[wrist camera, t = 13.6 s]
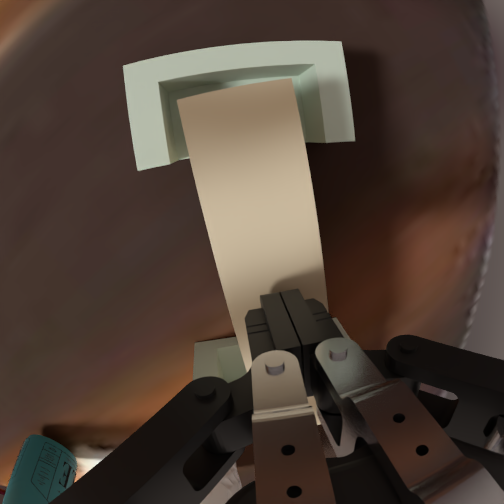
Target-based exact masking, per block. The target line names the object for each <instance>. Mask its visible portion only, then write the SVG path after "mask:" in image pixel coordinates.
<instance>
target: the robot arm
mask: <svg viewBox="0 0 504 504" xmlns="http://www.w3.org/2000/svg"><path fill="white" fill-rule="evenodd" d="M260 303H261V308H258V309H252V310H248V312H247V314H246V316H245V318H244V319H245V324H246V330H247V336H248V342H249V347H250V353H251V358H252V365H251V368H250V369H249V371H248V372H247V373H246V374H245V375H244V376H242V377H241V378H239V379H237V380H234V381H232V382H229V383H227V382H226V381H225V380H224V379H222V378H219V377H214V376H207V377H201V378H198V379H195V380H193V381H192V382H190V383H189V384H188V385H186V386H185V387H184V388H183V389H182V390H181V391H180V392H179V393H178V394H177V395H176V396H175V397H174V398H172V399H171V400H170V401H169V402H168V403H167V404H166V405H165V406H164V407H163V408H161V409H160V410H159V411H158V412H157V413H156V414H155V415H154V416H153V417H151V418H150V419H149V420H148V421H147V422H146V423H145V424H144V425H142V426H141V427H140V428H139V429H138V430H137V431H136V432H134V433H133V434H132V435H131V436H130V437H129V438H128V439H126V440H125V441H124V442H123V443H122V444H121V445H119V446H118V447H117V448H116V449H115V450H114V451H112V452H111V453H110V454H109V455H108V456H107V457H105V458H104V459H103V460H102V461H101V462H99V463H98V464H97V465H96V466H95V467H93V468H92V469H91V470H90V471H89V472H87V473H86V474H85V475H84V476H82V477H81V478H80V479H79V480H77V481H76V482H75V483H74V484H72V485H71V486H70V487H69V488H67V489H66V490H65V491H64V492H62V493H61V494H60V495H59V496H57V497H56V498H55V499H53V500H52V501H51V502H50V503H48V504H200V503H201V502H202V501H203V500H204V499H205V498H206V496H207V495H208V494H209V493H210V492H211V491H212V490H213V488H214V487H215V486H216V485H217V484H218V483H219V481H220V480H221V479H222V478H223V477H224V476H225V474H226V473H227V472H228V471H229V470H230V468H231V467H232V466H233V465H234V463H235V462H236V461H237V460H238V458H239V457H240V456H241V455H242V453H243V452H244V450H245V446H248V445H250V444H252V443H253V450H254V468H255V481H253V482H251V483H249V484H247V485H246V486H244V487H243V488H241V489H240V490H239V491H237V492H236V493H235V494H234V495H233V496H232V497H231V498H230V499H229V500H228V501H227V502H226V503H225V504H504V360H501V359H497V358H493V357H489V356H485V355H482V354H478V353H474V352H471V351H467V350H463V349H460V348H456V347H453V346H449V345H445V344H442V343H438V342H435V341H431V340H428V339H424V338H421V337H417V336H414V335H400V336H397V337H394V338H393V339H391V340H390V341H389V342H388V344H387V348H386V350H362V349H361V348H360V346H359V345H358V344H357V343H356V342H354V341H352V340H350V339H347V338H344V337H343V335H342V333H341V332H340V330H339V329H338V327H337V325H336V324H335V322H334V321H333V319H332V318H331V316H330V314H329V313H328V312H327V309H326V308H325V306H324V305H323V303H321V302H319V301H318V300H316V299H314V298H311V299H306V300H304V298H303V296H302V294H301V292H300V291H299V289H298V288H297V289H292V290H287V291H281V292H276V293H270V294H264V295H260ZM421 383H424V384H427V385H430V386H434V387H437V388H440V389H443V390H446V391H449V392H452V393H454V394H455V395H456V396H457V397H458V399H456V400H449V399H446V398H443V397H440V396H437V395H433V394H430V393H427V392H424V391H421V390H419V389H420V385H421ZM311 396H314V398H315V401H316V413H317V416H318V418H319V420H320V422H321V424H322V426H323V428H324V430H325V432H326V434H327V436H328V438H329V441H330V443H331V445H332V447H333V449H334V451H335V453H336V456H337V457H335V458H325V454H324V450H323V446H322V442H321V438H320V434H319V430H318V426H317V422H316V418H315V414H314V410H313V407H312V406H309V403H308V399H307V397H311Z"/></svg>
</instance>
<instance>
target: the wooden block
mask: <svg viewBox="0 0 504 504" xmlns="http://www.w3.org/2000/svg"><path fill="white" fill-rule="evenodd" d="M177 104H178V108H179V113H180V118H181V122H182V127H183V131H184V135H185V140H186V144H187V149H188V153H189V157H190V161H191V166H192V170H193V174H194V178H195V182H196V187H197V191H198V195H199V199H200V203H201V207H202V211H203V215H204V219H205V223H206V227H207V231H208V235H209V238H210V242H211V246H212V250H213V254H214V258H215V261H216V265H217V269H218V273H219V276H220V280H221V284H222V287H223V291H224V295H225V298H226V302H227V305H228V309H229V312H230V316H231V320H232V323H233V327H234V330H235V334H236V337H237V340H238V344H239V347H240V351H241V354H242V357H243V361H244V364H245V368H246V371H247V372H248V371H249V369H250V368H251V365H252V358H251V353H250V347H249V342H248V336H247V330H246V324H245V319H244V318H245V316H246V314H247V312H248V310H252V309H258V308H261V303H260V295H264V294H270V293H276V292H281V291H287V290H292V289H297V288H298V289H299V291H300V292H301V294H302V296H303V298H304V300H306V299H311V298H314V299H316V300H318V301H319V302H321V303H323V305H324V306H325V308H326V309H327V312H328V313H329V311H328V301H327V291H326V282H325V273H324V265H323V257H322V249H321V241H320V234H319V227H318V220H317V213H316V206H315V200H314V193H313V187H312V181H311V175H310V169H309V163H308V158H307V152H306V147H305V141H304V136H303V131H302V126H301V120H300V115H299V111H298V106H297V101H296V96H295V92H294V87H293V82H292V78H288V79H280V80H273V81H266V82H260V83H253V84H248V85H242V86H236V87H231V88H226V89H221V90H216V91H212V92H207V93H203V94H199V95H194V96H190V97H186V98H182V99H178V100H177ZM307 399H308V403H309V406H312V407H313V410H314V414H315V418H316V422H317V425H320V424H321V422H320V420H319V418H318V416H317V413H316V401H315V398H314V396H311V397H307Z"/></svg>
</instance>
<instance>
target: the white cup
mask: <svg viewBox="0 0 504 504" xmlns="http://www.w3.org/2000/svg"><path fill="white" fill-rule="evenodd" d="M241 488H242V487H241V482H240V477H239V476H238V473H237V466H236V462H235V463H234V465H233V466H232V467H231V468H230V470H229V471H228V472H227V473H226V474H225V476H224V477H223V478H222V479H221V480H220V481H219V483H218V484H217V485H216V486H215V487H214V488H213V490H212V491H211V492H210V493H209V494H208V495H207V496H206V498H205V499H204V500H203V501H202V502H201V503H200V504H225V503H226V502H227V501H228V500H229V499H230V498H231V497H232V496H233V495H234V494H235V493H236V492H237V491H239V490H240V489H241Z"/></svg>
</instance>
